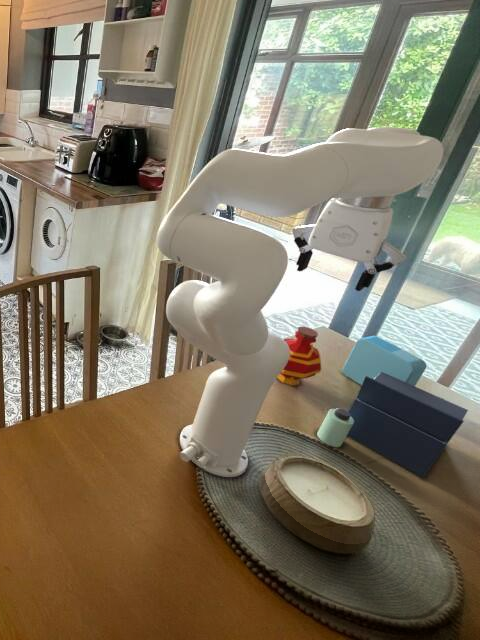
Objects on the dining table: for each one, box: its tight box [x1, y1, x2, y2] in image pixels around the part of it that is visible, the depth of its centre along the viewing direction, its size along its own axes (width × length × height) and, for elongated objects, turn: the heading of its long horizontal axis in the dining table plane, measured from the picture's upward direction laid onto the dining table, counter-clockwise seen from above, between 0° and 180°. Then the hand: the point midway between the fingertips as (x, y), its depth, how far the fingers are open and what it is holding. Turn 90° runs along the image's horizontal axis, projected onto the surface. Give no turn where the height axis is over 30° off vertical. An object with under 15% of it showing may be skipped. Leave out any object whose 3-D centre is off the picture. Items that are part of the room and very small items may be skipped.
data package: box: [342, 335, 427, 387], centre depth 102 cm, size 12×4×12 cm, turn 16°
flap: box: [356, 376, 465, 443], centre depth 80 cm, size 7×14×1 cm
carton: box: [346, 372, 469, 479], centre depth 88 cm, size 15×14×10 cm
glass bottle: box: [316, 407, 354, 448], centre depth 88 cm, size 4×4×8 cm
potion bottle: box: [276, 326, 322, 386], centre depth 104 cm, size 10×10×15 cm
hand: (329, 278), depth 83 cm, fingers open, 9 cm apart
